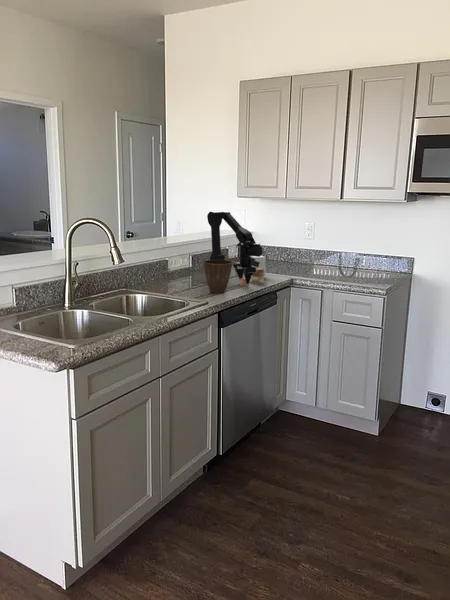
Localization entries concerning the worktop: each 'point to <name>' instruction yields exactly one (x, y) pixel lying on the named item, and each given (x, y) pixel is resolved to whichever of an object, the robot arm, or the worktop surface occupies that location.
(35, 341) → the worktop surface
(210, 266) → the plant pot
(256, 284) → the pad
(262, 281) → the maple cube
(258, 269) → the walnut cube
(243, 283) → the peach rounded piece
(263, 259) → the supplement box
